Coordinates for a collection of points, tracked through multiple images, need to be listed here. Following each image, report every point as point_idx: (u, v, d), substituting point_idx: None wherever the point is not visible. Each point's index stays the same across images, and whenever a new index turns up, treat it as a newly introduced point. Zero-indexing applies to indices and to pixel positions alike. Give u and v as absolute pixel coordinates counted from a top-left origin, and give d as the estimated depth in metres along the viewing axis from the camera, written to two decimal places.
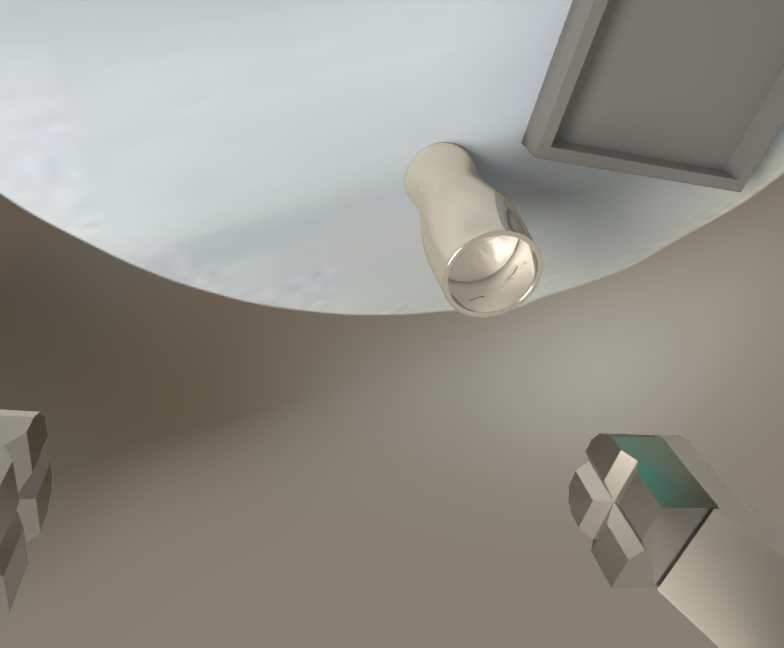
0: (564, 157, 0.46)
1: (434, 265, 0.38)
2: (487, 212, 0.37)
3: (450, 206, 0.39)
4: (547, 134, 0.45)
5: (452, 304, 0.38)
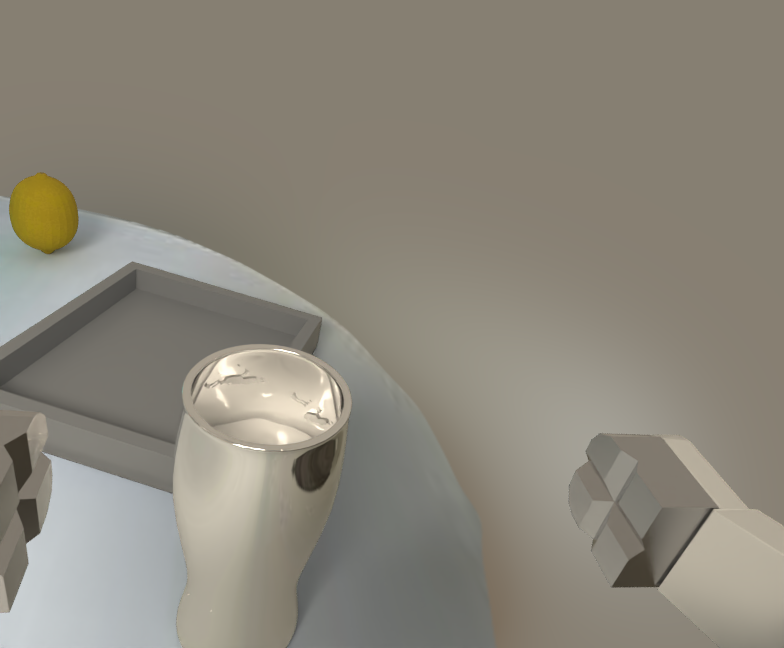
0: None
1: (251, 490, 0.21)
2: None
3: (177, 494, 0.23)
4: None
5: (312, 442, 0.21)
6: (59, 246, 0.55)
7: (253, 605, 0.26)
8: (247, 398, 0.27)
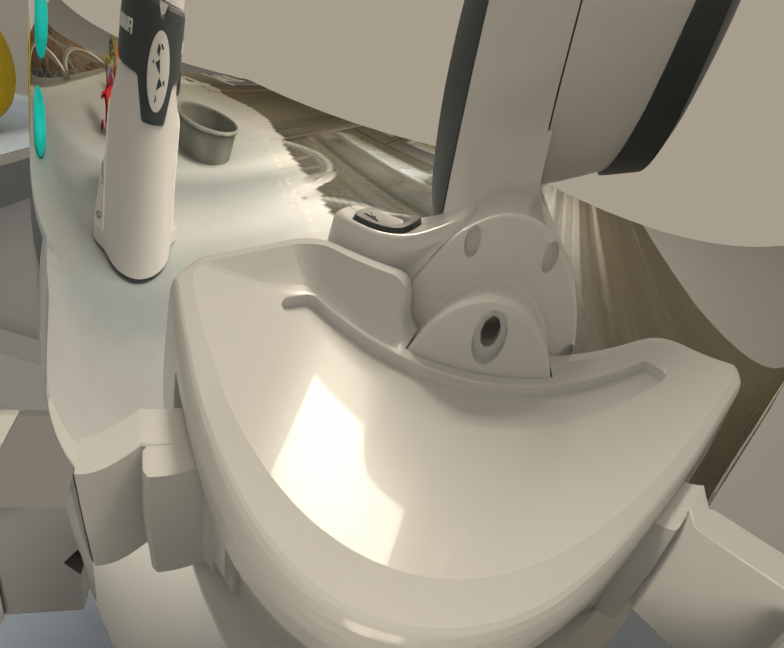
0: None
1: (526, 309, 0.03)
2: None
3: None
4: None
5: None
6: None
7: None
8: None
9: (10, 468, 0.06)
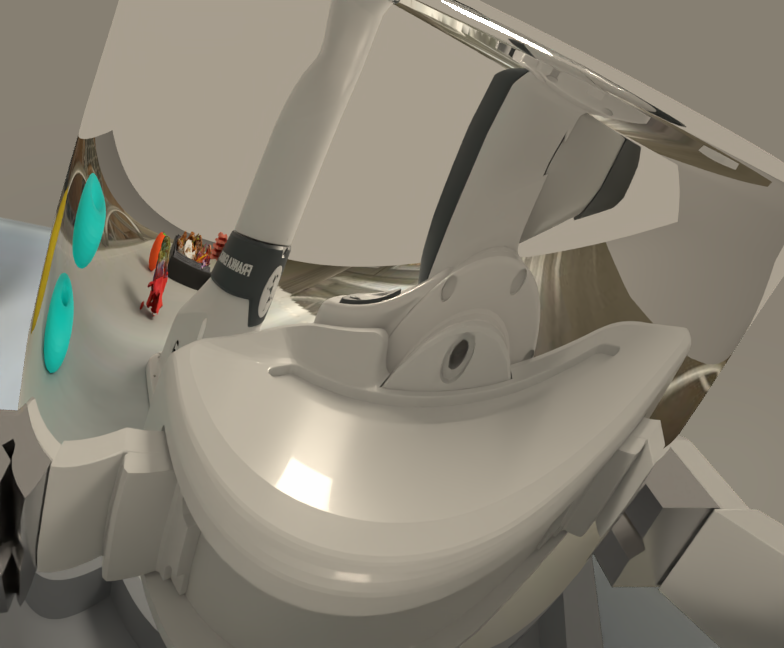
0: None
1: (493, 404, 0.04)
2: None
3: (34, 419, 0.05)
4: None
5: None
6: None
7: None
8: None
9: None
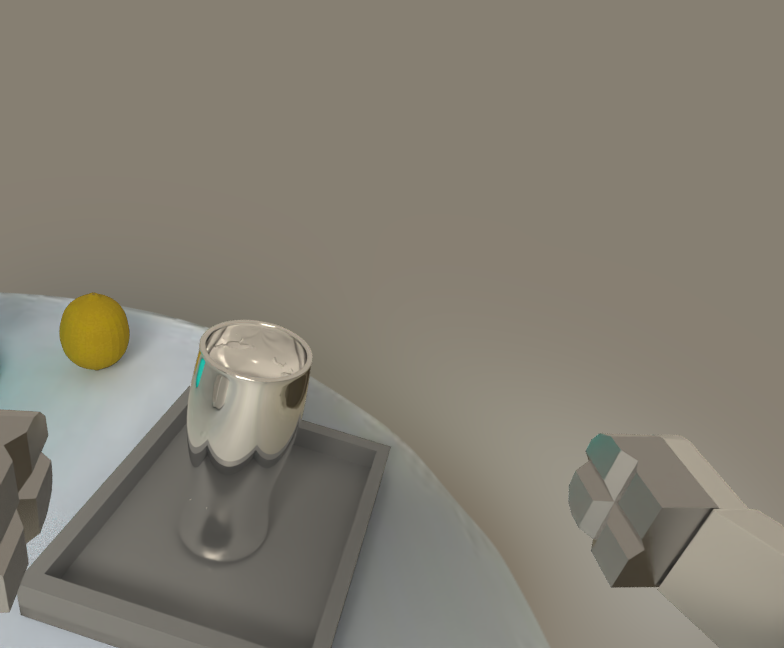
0: (326, 639, 0.34)
1: (241, 408, 0.32)
2: None
3: (190, 415, 0.34)
4: None
5: (283, 378, 0.32)
6: (110, 365, 0.53)
7: (237, 503, 0.37)
8: (241, 359, 0.38)
9: None
